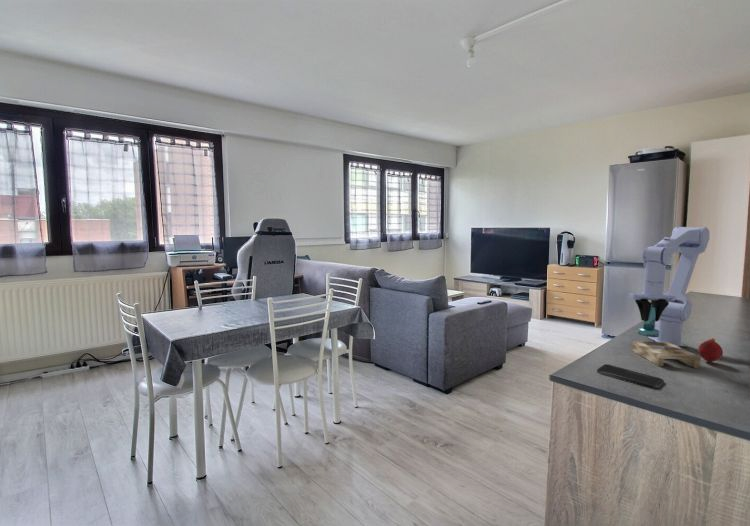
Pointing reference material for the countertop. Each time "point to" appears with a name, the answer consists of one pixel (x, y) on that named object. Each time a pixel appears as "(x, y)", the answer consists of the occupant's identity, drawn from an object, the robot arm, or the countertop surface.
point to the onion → (710, 350)
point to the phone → (631, 376)
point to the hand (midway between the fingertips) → (649, 320)
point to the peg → (649, 324)
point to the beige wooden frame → (664, 353)
